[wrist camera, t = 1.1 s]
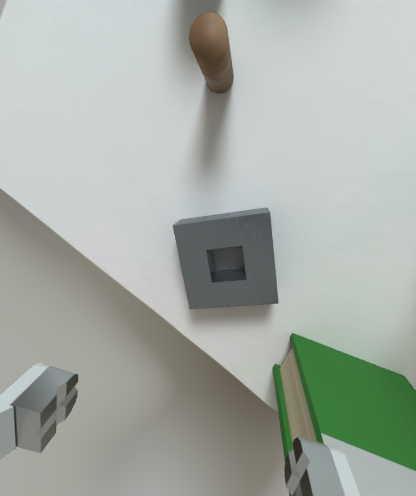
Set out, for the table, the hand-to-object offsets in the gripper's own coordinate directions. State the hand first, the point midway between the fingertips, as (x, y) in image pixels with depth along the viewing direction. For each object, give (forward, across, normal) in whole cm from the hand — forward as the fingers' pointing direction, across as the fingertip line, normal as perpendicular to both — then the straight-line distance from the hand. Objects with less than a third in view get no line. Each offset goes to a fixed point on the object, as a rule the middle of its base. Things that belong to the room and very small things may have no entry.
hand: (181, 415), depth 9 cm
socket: (+26, -1, +2) cm, 27 cm away
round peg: (+26, +5, -19) cm, 33 cm away
